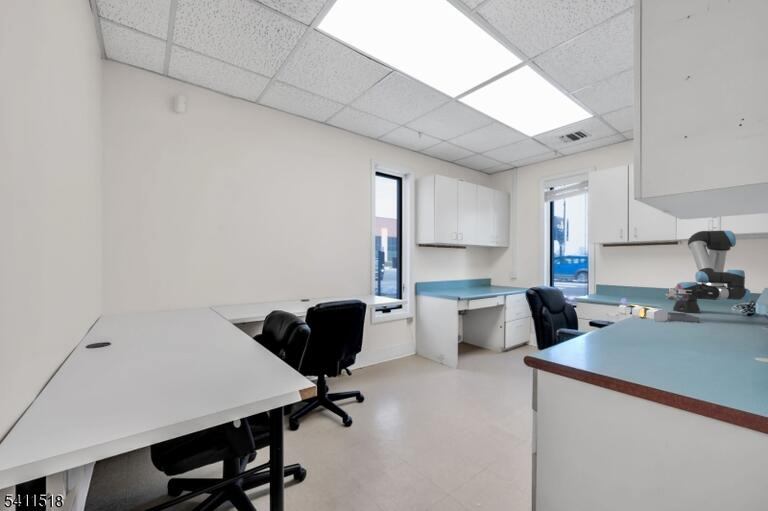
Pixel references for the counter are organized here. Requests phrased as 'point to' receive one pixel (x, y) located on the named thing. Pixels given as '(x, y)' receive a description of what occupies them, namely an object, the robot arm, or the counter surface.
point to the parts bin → (682, 317)
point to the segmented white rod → (644, 311)
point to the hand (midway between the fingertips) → (674, 290)
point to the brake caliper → (677, 294)
